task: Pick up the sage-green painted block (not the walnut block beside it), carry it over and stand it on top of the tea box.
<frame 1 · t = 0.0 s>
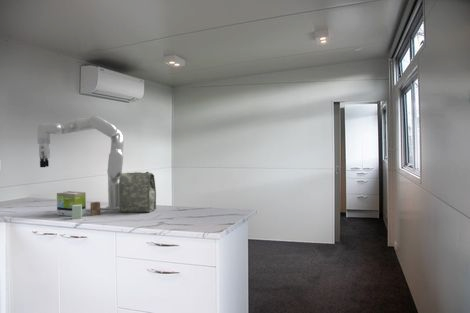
hand: (44, 166, 230), 31 cm above the counter, tool pointing down, fingers open, 9 cm apart
tea box: (71, 214, 223), on the counter
green block: (77, 218, 211), on the counter
walnut block: (95, 214, 222), on the counter
bag: (138, 211, 234), on the counter
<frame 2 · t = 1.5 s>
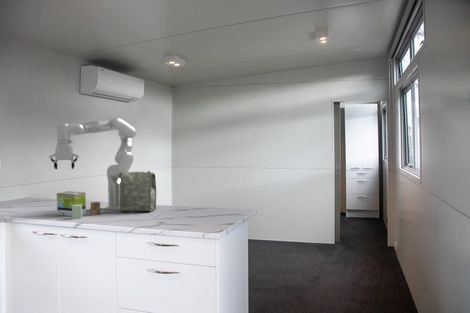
hand: (64, 168, 220), 30 cm above the counter, tool pointing down, fingers open, 9 cm apart
bag: (138, 210, 234), on the counter, touching arm
everything else where it was.
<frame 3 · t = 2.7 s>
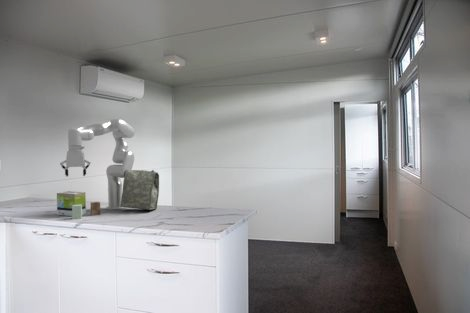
hand: (75, 176, 211), 26 cm above the counter, tool pointing down, fingers open, 9 cm apart
bag: (138, 209, 235), point 1 cm above the counter, touching arm
everything else where it was.
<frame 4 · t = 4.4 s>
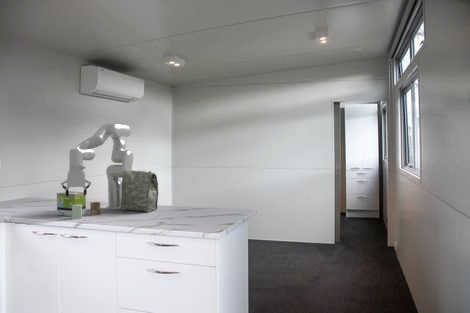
hand: (76, 196, 211), 14 cm above the counter, tool pointing down, fingers open, 9 cm apart
bag: (139, 209, 237), point 1 cm above the counter
everything else where it was.
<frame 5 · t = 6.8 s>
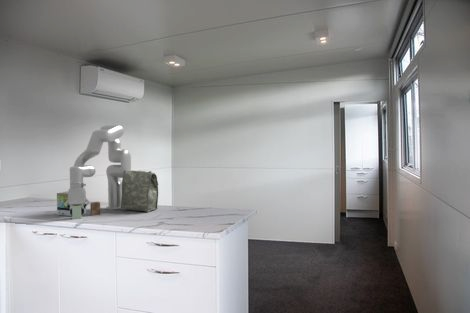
hand: (77, 214, 211), 2 cm above the counter, tool pointing down, fingers closed on green block, 5 cm apart
green block: (77, 218, 211), on the counter, touching gripper
bag: (139, 209, 237), point 1 cm above the counter, touching arm
everything else where it was.
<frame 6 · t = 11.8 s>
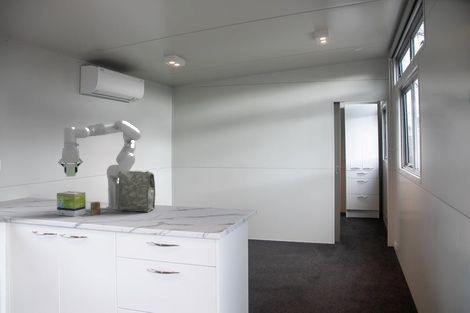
hand: (71, 173, 222), 27 cm above the counter, tool pointing down, fingers closed on green block, 5 cm apart
green block: (71, 176, 222), point 25 cm above the counter, touching gripper
bag: (136, 209, 235), point 1 cm above the counter, touching arm
everything else where it was.
when the fingers open (18 cm above the counter, at t = 15.2 s): green block drops 1 cm, resting on tea box.
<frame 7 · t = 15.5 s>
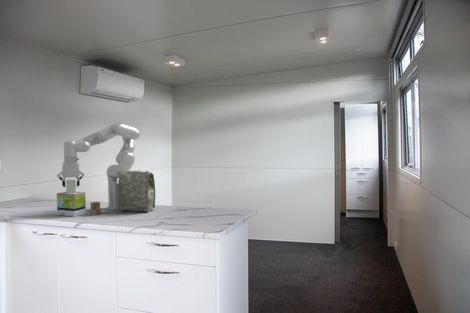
hand: (71, 186, 223), 18 cm above the counter, tool pointing down, fingers open, 7 cm apart
tea box: (71, 215, 223), on the counter, touching green block
green block: (71, 192, 223), point 15 cm above the counter, touching tea box
everything else where it was.
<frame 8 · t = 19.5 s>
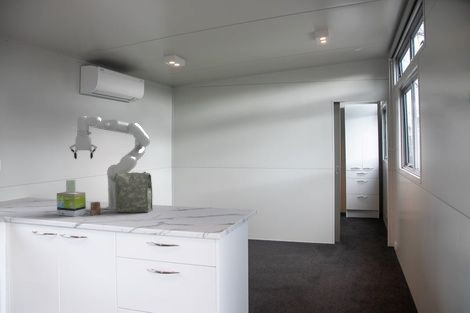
hand: (83, 158, 233), 36 cm above the counter, tool pointing down, fingers open, 9 cm apart
bag: (134, 211, 233), on the counter
everything else where it was.
at the end: green block inside the target area on the tea box (0.2 cm from its centre), point 15.0 cm above the tea box's base; green block tilted 0°; walnut block moved 0.1 cm from its start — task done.
